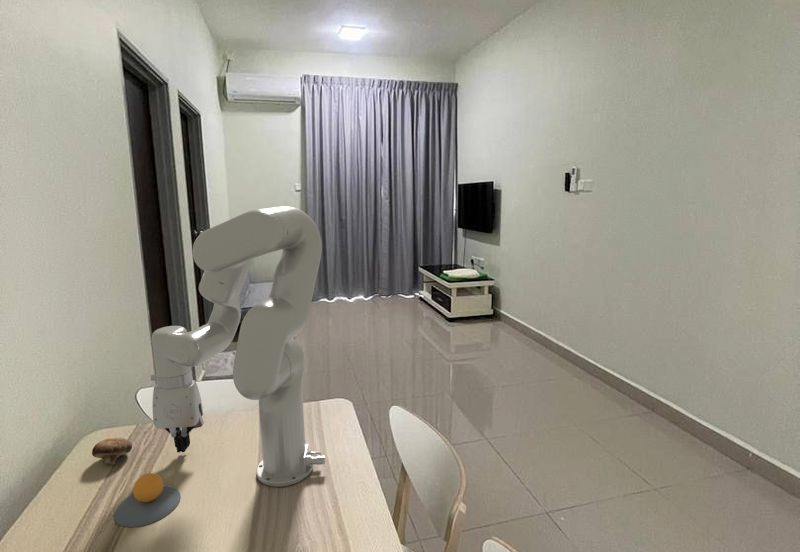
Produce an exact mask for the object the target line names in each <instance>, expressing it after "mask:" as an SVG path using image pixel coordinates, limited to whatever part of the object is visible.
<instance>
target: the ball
mask: <svg viewBox="0 0 800 552" xmlns="http://www.w3.org/2000/svg"><path fill="white" fill-rule="evenodd" d="M163 486H164V481H163V478H162V477H161V476H160V475H159V474H157V473H146V474H142V475H141V476H140V477H139V478H138V479H137V480H136V481H135V483H134V485H133V487H132V492H133V493H132V495H133V494H134V496H135V498H136V499H137V500H138V501H140V502H150V501H153V500H155V499H156V498H157V497H158V496H159V495H160V494H161V492H162V490H163Z"/></svg>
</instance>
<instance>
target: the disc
mask: <svg viewBox="0 0 800 552" xmlns="http://www.w3.org/2000/svg"><path fill="white" fill-rule="evenodd" d="M181 498H182V497H181V492H180V490H179V489H177V488H175V487H174V486H170V485H163V490H162V492H161V494H160V495H159V496H158V497H157V498H156V499H155V500H153V501H150V502H140V501H138V500H137V499H136V498H135V496H134V494H133V493H132V494H131V495H129V496H128V497H126V498H125V499H124V500H123V501H121V502H120V503H119V505H118V506H117V507H116V508H115V511H114V513H113V518H114V521H115V522H116V524H117V525H119V526H121V527H125V528H138V527H144V526H147V525H150V524H153V523H156V522H158V521H160V520H162V519H164V518H165V517H167V516H168V515H169V514H171V513H172V512H173V511H174V510H175V509H176V508H177V507H178V505H179V503H180V502H181Z"/></svg>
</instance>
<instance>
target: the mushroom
mask: <svg viewBox="0 0 800 552" xmlns="http://www.w3.org/2000/svg"><path fill="white" fill-rule="evenodd" d="M132 448H133V444H132V442H131V441H130V440H128V439H126V438H123V437H115V438H114V437H111V438H106V439H102V440H100V441H99V442H98V443H96V444H95V445H93V448H92V451H91V455H92V457H94V458H97V459H98V458H99V459H101V460H102V462H103V463H105V464H108V465H112V466H116V462H117V459H118V458H119V457H120V456H123V455H126V454H128V453H130V452H131V450H132Z"/></svg>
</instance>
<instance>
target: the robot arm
mask: <svg viewBox="0 0 800 552" xmlns="http://www.w3.org/2000/svg"><path fill="white" fill-rule="evenodd" d="M322 249H323V241H322V236H321V233H320V230H319V228H318V225H317V224H316V222H315V221H314V220H313V218H311V217H310V216H309V215H308V214H307V213H306V212H305V211H303V210H301V209H300V208H297V207H293V206H284V205H283V206H274V207H267V208H265V207H264V208H256V209H253V210H249V211H247V212H243V213H241V214H239V215H237V216H235V217H232V218H231V219H227V220H226V221H224V222H221V223H220V224H216V225H215V226H212V227H209V228H207V229H205V230H204V231H202V232H201V233H199V235H198V236H197V237H196V239H195V240H194V242H193V245H192V258H193V261H194V262H195V264H196V266H197V267H198V268H199V269H200V270H202V271H203V274H202V276H201V279H200V282H199V285H198V291H199V293H200V296H202V297H203V298H204V299H205V300H207V301H209V302H211V303H213V307H212V311H211V314H210V316H209V318H208V321H207V323H206V324H203V325H201V326H199V327H197V328H195V329H193V330H191V331H188V330H187V328H185V327H183V326H181V325H169V326H168V325H167V326H164V327H160V328H157V329H156V330H154V331H153V332H152V334H151V344H152V351H153V353H152V354H153V359H154V361H153V363H154V369H155V374H152V375H151V376H150V381H155V386H154V387H153V391H152V404H151V405H152V421H153V425H154V427H156V429H159V430H165V431H166V432H167V433H168V434H170V436H171V438H173V441H174V447H175V448H176V452H177V453H185V452H186V450H187V449H188V447H190V445H191V439H190V433H191V432H192V431H193V430H194V429H199V428H201V427H203V425H204V423H205V421H204V419H203V415H204V410H203V408H204V407H203V403H202V397H201V392H200V390H199V386H198V383H197V381H196V380H195V379H193V371H192V368H193V367H197V366H199V365H201V364H203V363H204V362H206V361H209V360H210V359H211V358H213V357H215V356H216V355H218V354H220V353H222V352H223V351H225V350H226V349H227V348H228V347H229V346H230V345H231V344H232V342H233V339H234V337H235V335H236V333H237V331H238V327H239V325H240V327H239V333H238V338H237V345H236V349H235V356H234V359H233V360H234V361H233V366H232V380H233V384H234V386H235V388H236V391H237V392H238V393H239V394H240V395H241V396H242V397H243V398H246V399H248V400H251V401H258V412H259V413H258V414H259V426H260V439H261V440H260V441H261V453H262V460H261V461H260V462H259V463H258V465H257V466H256V477H257V479H258V480H259V482H261V484H262V483H263V484H264V485H266V486H268V487H269V486H270V487H274V488H275V487H276V488H277V487H279V488H282V487H287V486H292V485H294V484H297V483H300V482H301V481H303V480H305V479H306V478H307V477H308V476H309V475H310V474H311V473H312V472H313V468H314V465H316V466H318V465H319V466H320V465H326V455H323V454H322V451H321V450H313V451H312V450H311V449H309V443H306V436H305V433H306V432H305V416H304V397H303V392H304V391H303V381H304V371H305V355H304V351H303V348H302V346H301V344H300V343H299V342H298V340H296V339H294V338H295V337H296V336H298V335H299V334H301V332H303V331H304V329H305V327H306V326H307V323H308V319H309V316H310V310H311V305H312V300H313V296H314V291H315V286H316V280H317V277H318V276H317V275H318V272H319V268H320V262H321V259H322V252H323V250H322ZM280 250H282V253H281V256H280V259H279V261H278V263H277V265H276V268H275V271H274V275H273V279H272V286H271V289H270V292H269V295H268V297H267V298H266V299H265V300H263V301H260V302H259V303H257V304H255V305H254V306H253V307H251V308H250V309H249V310H248V311H247V313H246V314H245V315H244V318H243V319H242V321H241V316H242V309H241V302H240V300H239V298H240V294H241V292H242V290H243V287H244V284H245V282H246V280H247V277H248V274H249V272H250V269H251V267H252V264H253V261H254V259H256V258H259V257H262V256H264V255H267V254H271V253H273V252H277V251H280ZM240 322H241V323H240Z"/></svg>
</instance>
